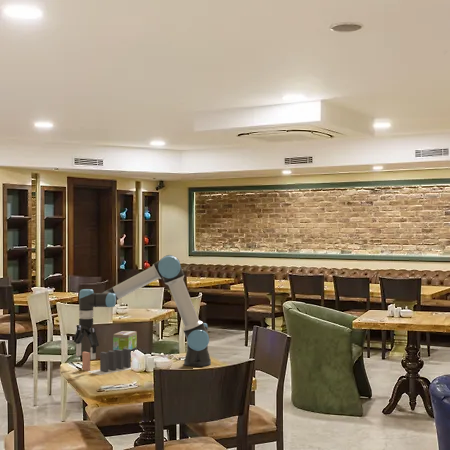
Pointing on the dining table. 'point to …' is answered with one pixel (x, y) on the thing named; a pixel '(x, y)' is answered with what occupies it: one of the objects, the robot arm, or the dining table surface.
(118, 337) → the tea box
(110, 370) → the domino mat
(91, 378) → the dining table surface
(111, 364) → the domino
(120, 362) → the domino
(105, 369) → the domino
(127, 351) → the domino
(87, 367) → the domino
